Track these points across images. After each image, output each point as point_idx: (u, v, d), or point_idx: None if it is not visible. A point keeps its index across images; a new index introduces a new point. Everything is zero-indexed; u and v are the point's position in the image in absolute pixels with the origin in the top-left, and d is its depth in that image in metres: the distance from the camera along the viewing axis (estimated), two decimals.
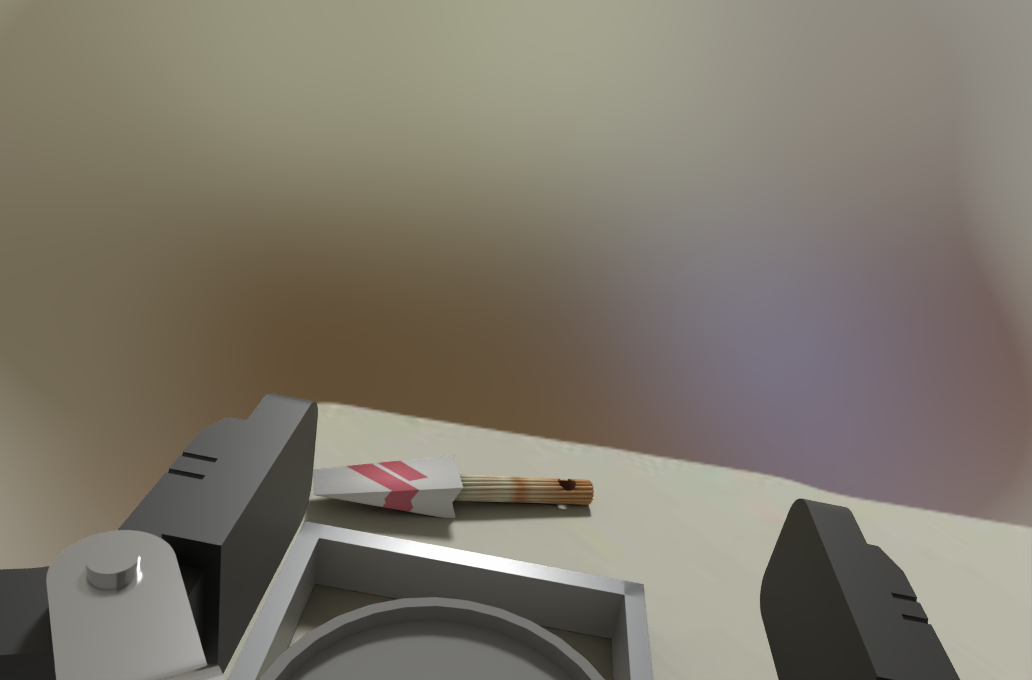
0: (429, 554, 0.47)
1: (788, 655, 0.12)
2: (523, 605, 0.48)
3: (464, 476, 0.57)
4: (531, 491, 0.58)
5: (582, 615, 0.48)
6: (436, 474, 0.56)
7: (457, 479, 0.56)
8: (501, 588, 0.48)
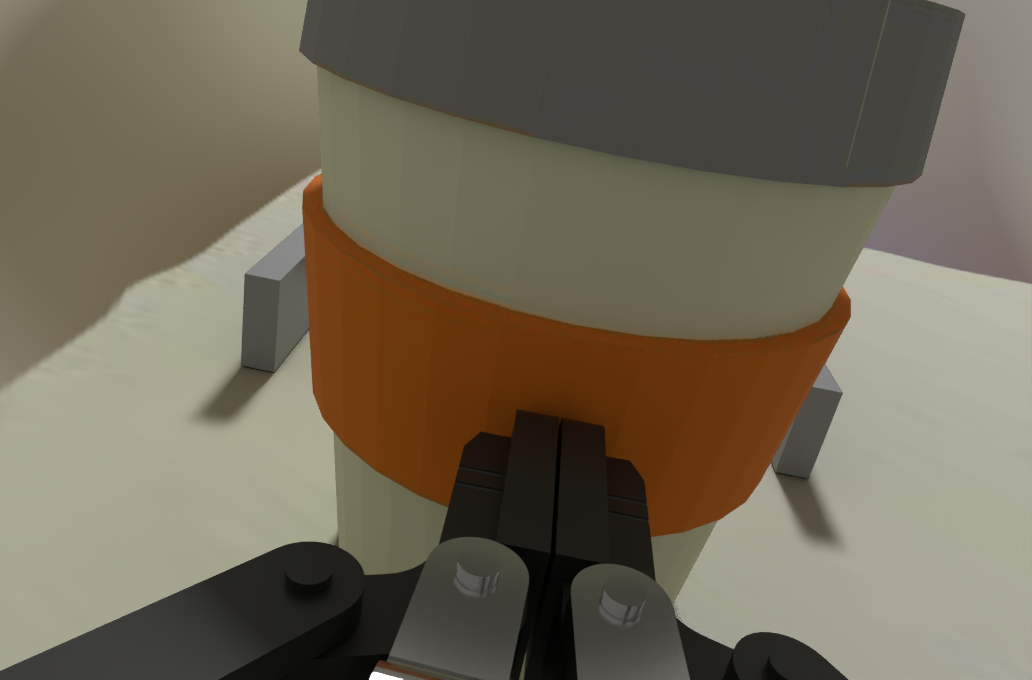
0: None
1: None
2: None
3: None
4: None
5: None
6: None
7: None
8: None
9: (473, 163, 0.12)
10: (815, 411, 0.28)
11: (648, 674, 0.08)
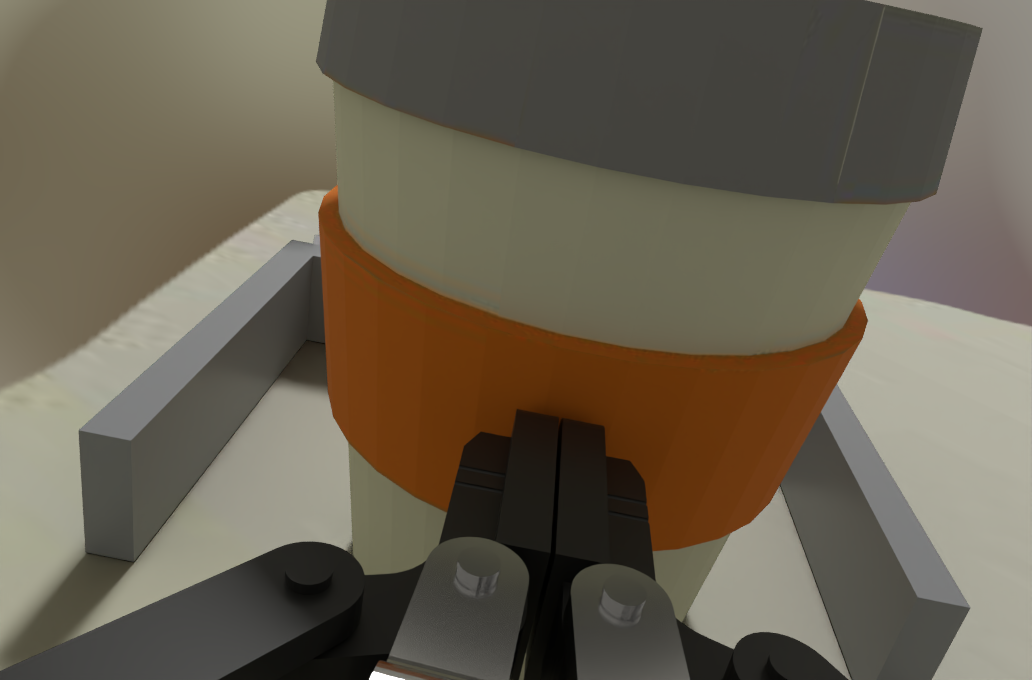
0: None
1: None
2: None
3: None
4: None
5: None
6: None
7: None
8: None
9: (461, 172, 0.13)
10: (927, 631, 0.19)
11: (649, 675, 0.08)
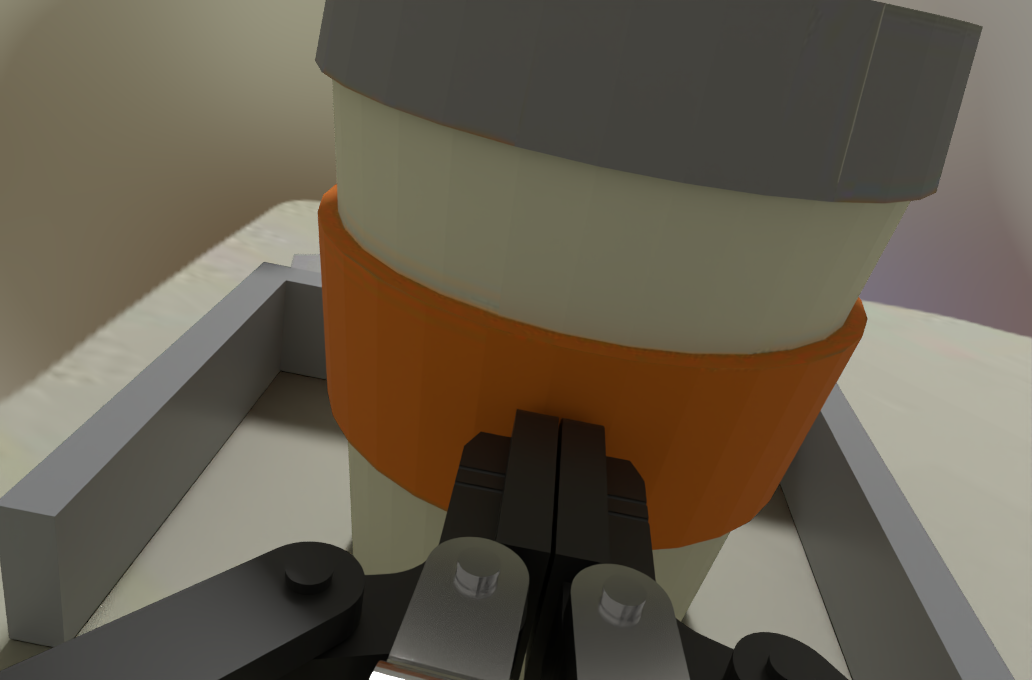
0: None
1: None
2: None
3: None
4: None
5: None
6: None
7: None
8: None
9: (461, 171, 0.13)
10: None
11: (648, 674, 0.08)
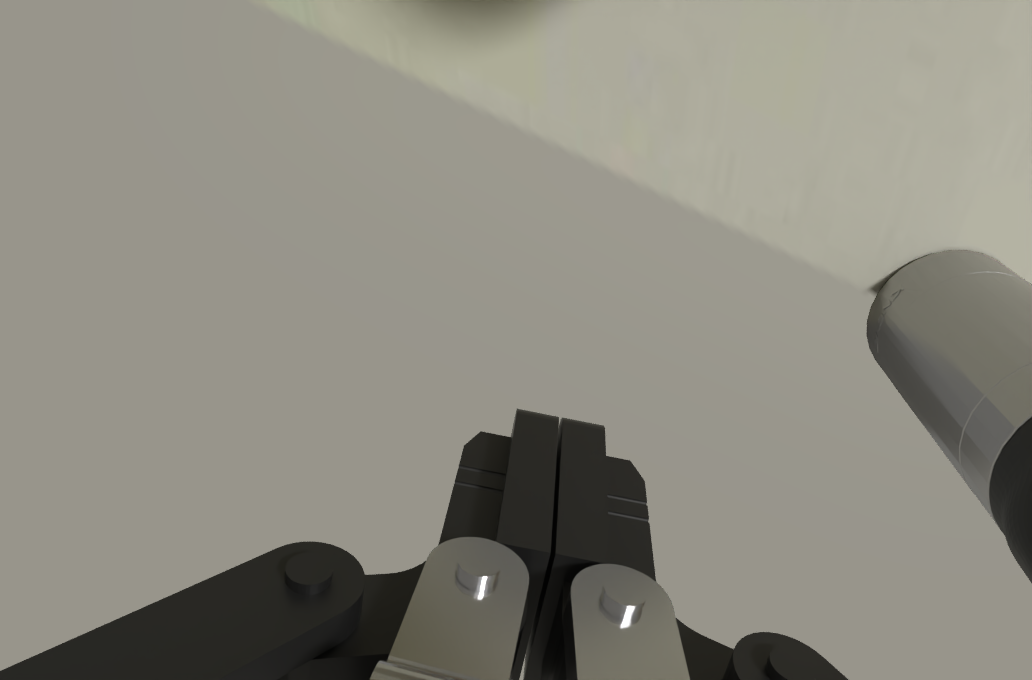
0: None
1: None
2: None
3: None
4: None
5: None
6: None
7: None
8: None
9: None
10: None
11: (648, 674, 0.08)
